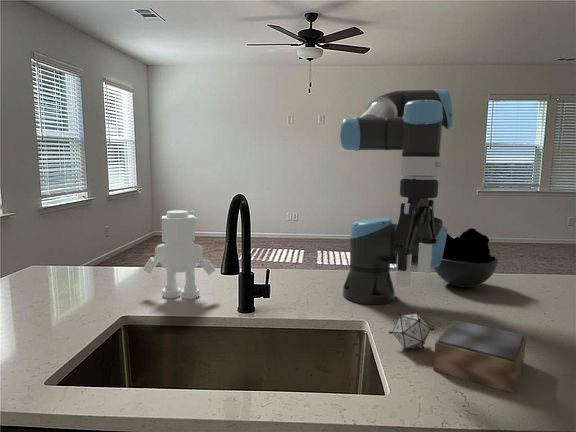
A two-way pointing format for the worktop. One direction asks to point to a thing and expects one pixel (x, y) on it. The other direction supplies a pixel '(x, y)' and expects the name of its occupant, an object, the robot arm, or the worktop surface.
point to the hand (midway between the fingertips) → (414, 278)
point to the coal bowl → (467, 260)
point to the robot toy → (179, 254)
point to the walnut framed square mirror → (481, 355)
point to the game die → (411, 331)
